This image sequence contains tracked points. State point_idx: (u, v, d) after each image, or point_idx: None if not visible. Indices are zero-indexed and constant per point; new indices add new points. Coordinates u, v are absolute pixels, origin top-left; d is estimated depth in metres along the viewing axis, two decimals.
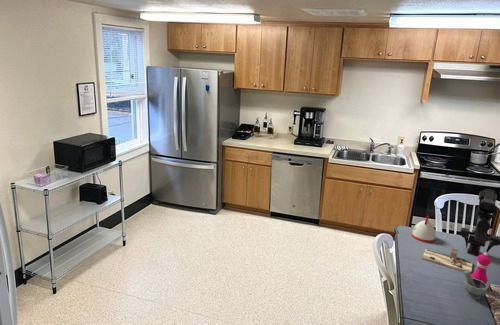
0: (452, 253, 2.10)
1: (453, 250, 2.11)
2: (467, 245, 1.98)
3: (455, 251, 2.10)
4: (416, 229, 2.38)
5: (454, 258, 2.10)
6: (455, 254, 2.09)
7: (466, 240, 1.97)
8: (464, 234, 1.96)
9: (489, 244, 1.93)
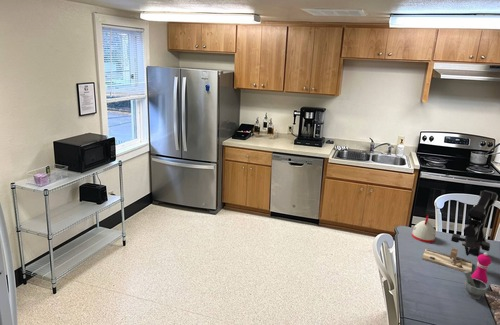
0: (452, 253, 2.10)
1: (453, 250, 2.11)
2: (467, 253, 2.07)
3: (455, 251, 2.10)
4: (416, 229, 2.38)
5: (454, 258, 2.10)
6: (455, 254, 2.09)
7: (466, 248, 2.06)
8: (455, 240, 2.07)
9: (470, 247, 2.06)
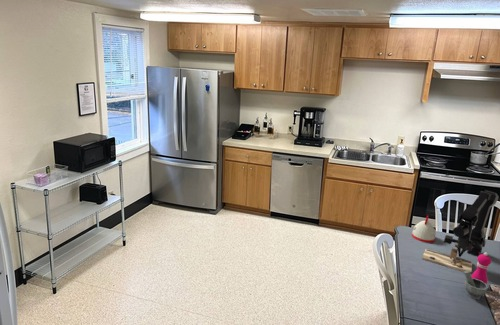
0: (452, 253, 2.10)
1: (453, 250, 2.11)
2: (459, 254, 2.09)
3: (455, 251, 2.10)
4: (416, 229, 2.38)
5: (454, 258, 2.10)
6: (455, 254, 2.09)
7: (458, 249, 2.08)
8: (448, 241, 2.09)
9: (462, 248, 2.08)
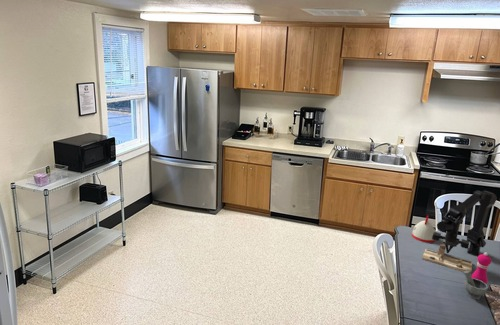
0: (440, 250, 2.13)
1: (441, 247, 2.15)
2: (447, 251, 2.12)
3: (443, 248, 2.14)
4: (416, 229, 2.38)
5: (442, 254, 2.13)
6: (443, 250, 2.12)
7: (446, 246, 2.12)
8: (436, 238, 2.12)
9: (450, 245, 2.11)
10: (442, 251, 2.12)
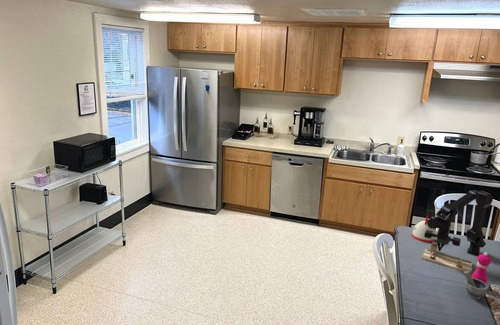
0: (432, 247, 2.15)
1: (433, 244, 2.17)
2: (439, 248, 2.15)
3: (435, 245, 2.16)
4: (416, 229, 2.38)
5: (434, 252, 2.15)
6: (435, 248, 2.14)
7: (438, 244, 2.14)
8: (428, 236, 2.14)
9: (442, 243, 2.14)
10: (434, 249, 2.15)
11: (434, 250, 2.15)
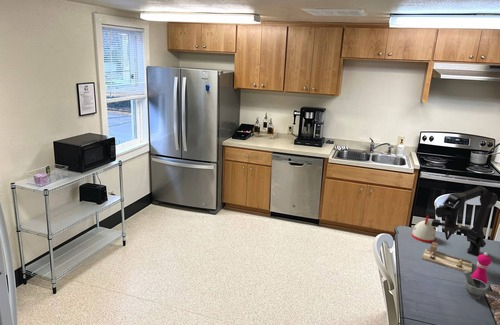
0: (432, 247, 2.15)
1: (433, 244, 2.17)
2: (447, 237, 2.12)
3: (435, 245, 2.16)
4: (416, 229, 2.38)
5: (434, 252, 2.15)
6: (435, 248, 2.14)
7: (446, 232, 2.11)
8: (435, 225, 2.12)
9: (449, 231, 2.11)
10: (434, 249, 2.15)
11: (434, 250, 2.15)
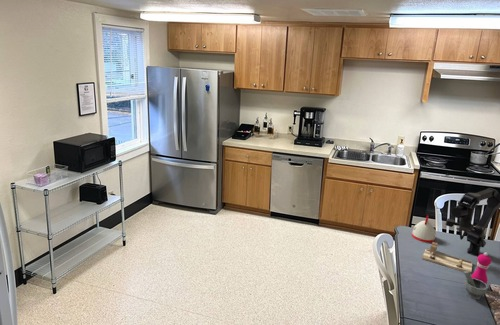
0: (432, 247, 2.15)
1: (433, 244, 2.17)
2: (461, 237, 2.13)
3: (435, 245, 2.16)
4: (416, 229, 2.38)
5: (434, 252, 2.15)
6: (435, 248, 2.14)
7: (460, 232, 2.12)
8: (450, 224, 2.13)
9: (464, 231, 2.12)
10: (434, 249, 2.15)
11: (434, 250, 2.15)
